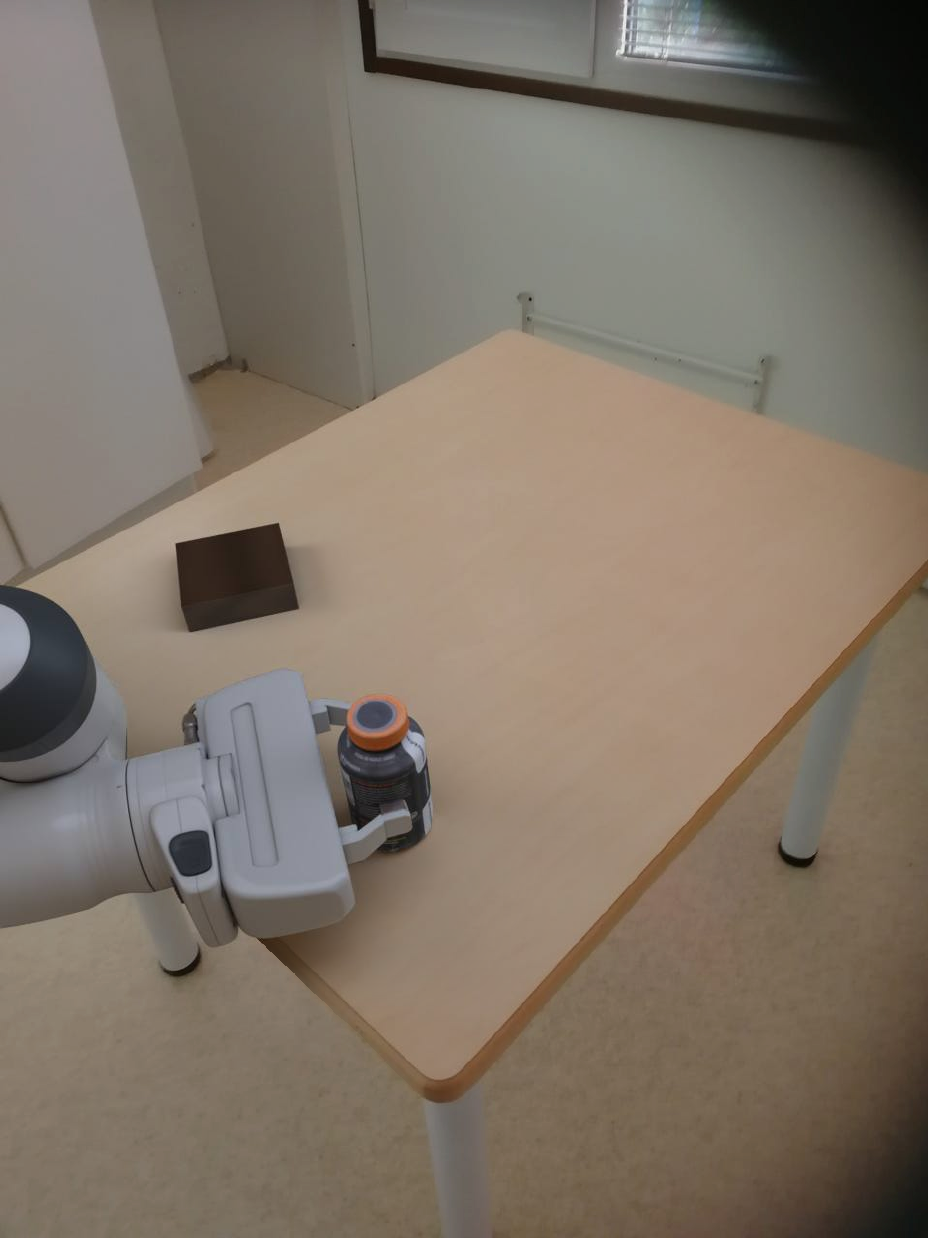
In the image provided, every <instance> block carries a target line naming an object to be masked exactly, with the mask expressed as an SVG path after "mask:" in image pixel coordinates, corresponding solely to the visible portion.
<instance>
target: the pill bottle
mask: <svg viewBox="0 0 928 1238" xmlns="http://www.w3.org/2000/svg"><path fill="white" fill-rule="evenodd" d="M353 703H354V704H353ZM353 703H352V704H353V705H352V706H351V707H350V709H349V711H348V713H347V719H346V721H347V726H344V728H343V730H342V731H341V733H340V735H339V737H338V742H337V746H336V747H337V756H338V761H339V766H340V772H341V777H342V782H343V786H344V790H345V791H344V792H345V795H346V801H347V806H348V810H349V815H350V821H351V825H353V824H355V825H356V826H357V829H358V831H359V830H360V829H362V828H363V827H364V826H366V825H367V824H368V823H370V822H371V821H372V820H373V819H375V818H376V817H377V816H379V815H380V814H381V813H380V807H379V804H382V803H386V802H392V803H393V802H394V801H395V800H398V799H404V800H405V801H406V804H407V807H408V810H409V813H410V816H411V821H412V829H411V830H410V831H409V832H407V833H404V834H400V835H396V836H393V837H389V838H386V839H387V840H386V841H385V842H384V843H383V844H382V845H380V846H379V847H378V848H377V849H376V850H375V851H377V852H383V853H395V852H396V853H397V852H402V851H404V850H408V849H410V848H412V847H414V846H415V845H418V843H420V842H421V841H422V840H424V838H425V837H426V836H427V835H428V833H429V831H430V830H431V828H432V826H433V821H434V806H433V797H432V788H431V779H430V771H429V764H428V763H429V762H428V754H427V746H426V745H427V744H426V739H425V734H424V731H423V729H422V728H421V726H420V724H418V722H417V721H416V720H415V719H414V718H412V717H411V716H409V715H408V710H407V707H406V706H405V703H404V702H403V701H402V700H400V699H399V698H398V697H396V696H394V695H392V694H387V693H373V694H369V695H366V696H363V697H361V698H359V699H358V700H356V701H355V702H353Z"/></svg>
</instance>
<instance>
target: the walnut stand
mask: <svg viewBox="0 0 928 1238" xmlns="http://www.w3.org/2000/svg"><path fill="white" fill-rule="evenodd" d="M174 546H175V555H176V556H175V557H176V566H177V567H176V568H177V576H178V587H179V598H180V599H179V600H180V608H181V611H182V614H183V617H184V621H185V623H186V624H185V625H186V626H187V630H188V632H189V633H193V632H197V631H202V630H206V629H211V628H215V627H220V626H225V625H230V624H235V623H239V622H243V621H247V620H253V619H258V618H262V617H266V616H270V615H275V614H281V613H285V612H289V611H294V610H299V609H300V607H299V602H298V597H297V593H296V587H295V583H294V579H293V574H292V571H291V567H290V563H289V558H288V555H287V550H286V546H285V542H284V537H283V533H282V529H281V524H280V522H274V523H271V524H270V523H269V524H265V525H261V526H256V527H251V528H244V529H240V530H235V531H229V532H226V533H220V534H215V535H209V536H204V537H200V538H194V539H190V540H185V541H179V542H175V543H174Z"/></svg>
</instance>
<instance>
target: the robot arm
mask: <svg viewBox="0 0 928 1238" xmlns="http://www.w3.org/2000/svg"><path fill="white" fill-rule="evenodd" d="M89 647H90V646H89V645H88V643H87V641H86V639H85V638H84V635H83V634H82V631H81V629H80V627H79V626H78V624H77V622H76V621H75V620H74V619H73V617H72V616H71V615H70V614H69V613H68V611H66V610H65V609H64V608H63V607H62V606H61V605H59V604H58V603H56V602H55V601H54V600H52V599H50V598H49V597H48V596H45V595H43V594H40V593H38V592H36V591H32V590H30V589H29V590H28V589H25V588H21V587H16V586H11V585H5V584H0V929H6V928H8V929H9V928H13V927H19V926H25V925H30V924H35V923H40V922H45V921H49V920H53V919H58V918H62V917H65V916H69V915H73V914H74V915H75V914H77V913H82V912H86V911H89V910H91V909H93V908H95V907H97V906H98V905H100V904H101V903H103V902H105V901H107V900H110V899H111V898H114V897H117V896H121V895H127V894H151V893H152V894H153V893H157V892H160V891H164V890H169V889H171V888H173V890H174V892H175V893H176V894H175V895H176V897H177V898H178V900H179V902H180V904H181V905H183V904H184V906H185V908H186V910H187V912H188V914H189V916H190V918H191V920H192V922H193V924H194V926H195V929H196V931H197V932H198V934H199V935H200V938H201V939H202V941H203V942H204V943H205V945H206V946H207V947H209V948H218V947H219V948H220V947H223V946H227V945H228V944H230V943H232V942H234V941H235V940H236V939H237V937H238V935H239V929H240V931H241V932H242V933H243V934H245V935H246V936H249V937H251V938H255V939H273V938H280V937H285V936H290V935H291V936H292V935H296V934H300V933H305V932H310V931H314V930H317V929H321V928H325V927H328V926H332V925H334V924H337V923H339V922H341V921H342V920H343V919H345V918H346V917H347V915H348V914H349V913H350V912H351V911H352V910H353V908H354V907H355V905H356V898H355V893H354V892H355V891H354V888H353V884H352V880H351V879H352V878H351V875H350V872H349V867H348V865H351V864H355V863H360V862H363V861H365V860H367V858H369V857H370V856H371V855H372V854H373V853H375V851H377V850H376V849H377V848H378V847H379V846H380V845H382V844H383V843H384V842H385V841H386V840H387V839H386V838H389V837H393V836H396V835H400V834H404V833H407V832H409V831H410V830H411V829H412V821H411V816H410V813H409V810H408V807H407V804H406V801H405V800H404V799H398V800H395V801H394V802H393V803H392V802H386V803H382V804H379V807H380V813H381V814H380V815H379V816H377V817H376V818H375V819H373V820H372V821H371V822H370V823H368V824H367V825H366V826H364V827H363V828H362V829H360V830H359V831H358V829H357V826H356V825H355V824H353V825H352V824H349V825H346V826H345V825H344V826H341V827H339V825H338V821H337V817H336V813H335V809H334V804H333V800H332V795H331V791H330V787H329V782H328V777H327V774H326V770H325V766H324V761H323V757H322V752H321V749H320V745H319V740H318V736H317V735H319V734H324V733H328V732H330V731H332V726H340V727H346V726H347V721H346V719H347V713H348V711H349V709H350V707H351V706H352V705H353V704H354V703H355V702H353V703H350V702H347V701H342V700H337V699H333V698H328V697H323V698H318V699H317V698H316V699H313V700H309V697H308V693H307V688H306V685H305V680H304V677H303V673H302V672H300V671H298V670H294V669H290V668H280V669H275V670H272V671H269V672H265V673H262V674H258V675H255V676H252V677H250V678H245V679H243V680H241V681H237V682H235V683H232V684H229V685H227V686H225V687H223V688H221V689H218V690H216V691H214V692H213V693H212V694H209V695H205V696H202V697H200V698H198V699H196V700H195V701H194V703H193V704H192V705H191V706H190V707H189V709H188V711H187V713H184V715H183V716H182V718H181V730H182V733H183V745H181V746H176V747H173V748H168V749H165V750H160V751H157V752H153V753H149V754H145V755H140V756H136V757H135V756H134V757H131V758H128V757H127V756H128V755H127V754H128V717H127V716H128V714H127V708H126V704H125V700H124V698H123V696H122V694H121V692H120V691H119V689H118V687H117V686H116V684H115V682H113V680H112V679H111V677H110V676H109V674H108V672H107V671H106V670H105V669H104V667H103V666H102V665H101V663H100V662H99V661H98V659H97V658H96V656H95V655H94V654H93V653H92V651H91V650H90V648H89Z"/></svg>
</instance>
